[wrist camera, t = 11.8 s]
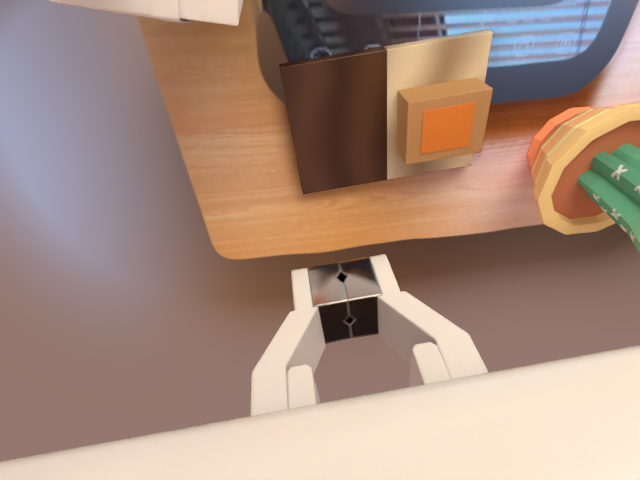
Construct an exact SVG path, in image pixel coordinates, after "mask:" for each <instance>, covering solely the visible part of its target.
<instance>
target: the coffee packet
mask: <svg viewBox="0 0 640 480" xmlns="http://www.w3.org/2000/svg"><path fill="white" fill-rule="evenodd" d="M492 91H493V88H491V87H490V86H488V85H487V84H485V83H484V82H482V81H481V80H479V79H478V78H476V77H475V78H469V79H463V80H457V81H451V82H445V83H439V84H433V85H427V86H421V87H415V88H409V89H403V90H398V91H397V141H396V150H397V152H398V153H399V155H400V156H401V158H402V160H403V161H404V163H405V164H406V165H408V164H414V163H420V162H426V161H432V160H438V159H443V158H449V157H455V156H461V155H467V154H473V153H479V152H481V150H482V145H483V140H484V134H485V129H486V123H487V118H488V113H489V107H490V102H491V97H492Z"/></svg>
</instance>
